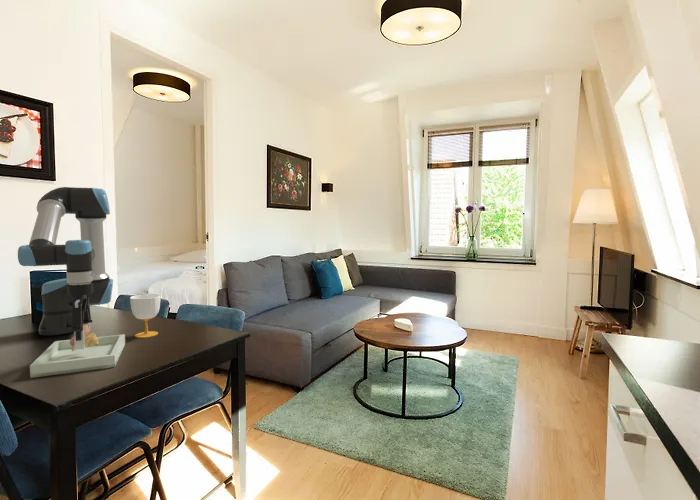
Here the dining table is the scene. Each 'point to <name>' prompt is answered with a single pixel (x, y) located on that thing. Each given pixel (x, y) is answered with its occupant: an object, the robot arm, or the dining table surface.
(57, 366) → the tray
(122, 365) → the dining table surface
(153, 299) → the cup
